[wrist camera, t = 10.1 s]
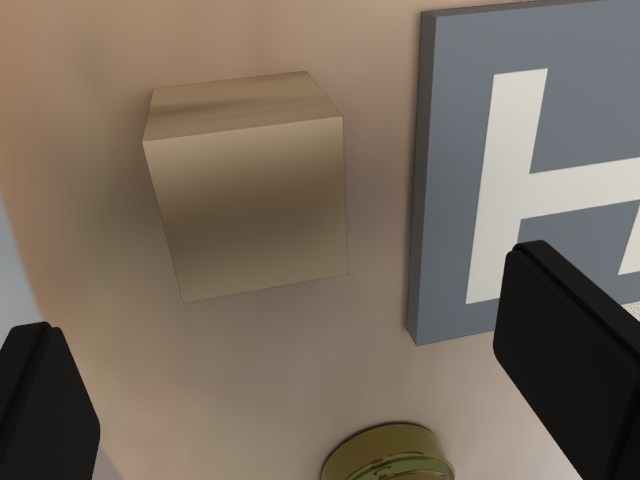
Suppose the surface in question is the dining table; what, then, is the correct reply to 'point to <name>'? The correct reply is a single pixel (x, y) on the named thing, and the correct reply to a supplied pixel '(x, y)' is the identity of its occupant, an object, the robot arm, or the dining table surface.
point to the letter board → (523, 153)
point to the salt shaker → (390, 456)
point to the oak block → (248, 183)
